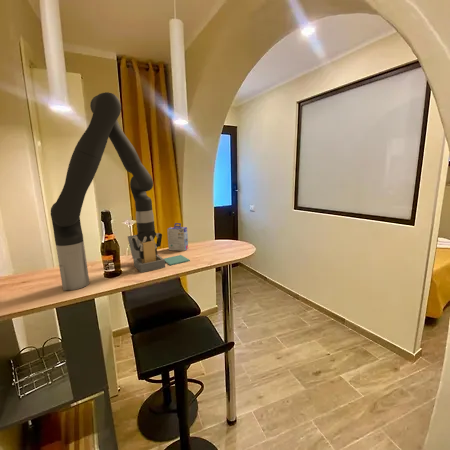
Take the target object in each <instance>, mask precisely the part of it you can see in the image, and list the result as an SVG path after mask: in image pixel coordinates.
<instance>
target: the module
mask: <svg viewBox="0 0 450 450" xmlns="http://www.w3.org/2000/svg"><path fill="white" fill-rule="evenodd" d="M154 241H155V240H154ZM154 241H148V242H145V243H143V254H144V259H142V264H144V263H148V262H153V261H156V253H155V244H156V242H154ZM141 244H142V242H141Z"/></svg>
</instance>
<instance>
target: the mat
mask: <svg viewBox="0 0 450 450" xmlns="http://www.w3.org/2000/svg"><path fill="white" fill-rule="evenodd" d="M163 259H165V264H168V265H169V266H174V265H177V264H178V265H180V264H183V263H187V262H191V259H189V258H188V257H186V256H184V255H182V254H179V255H173V256H169V257H165V258H164V257H163Z"/></svg>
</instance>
